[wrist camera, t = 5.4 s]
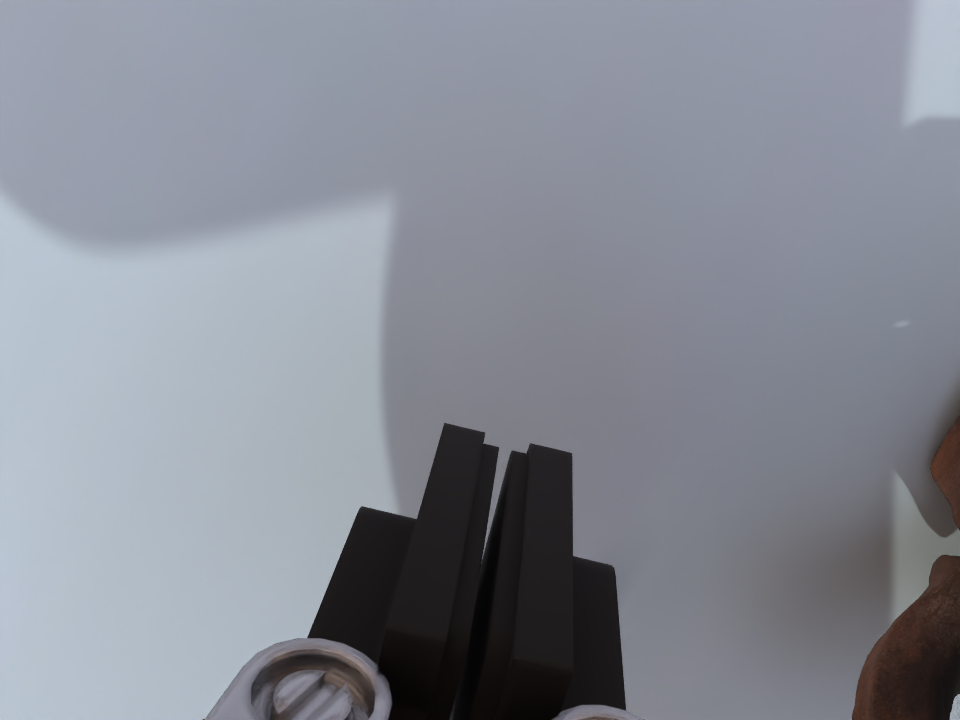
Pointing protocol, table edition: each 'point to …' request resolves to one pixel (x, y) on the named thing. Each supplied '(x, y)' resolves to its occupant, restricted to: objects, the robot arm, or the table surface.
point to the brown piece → (921, 631)
